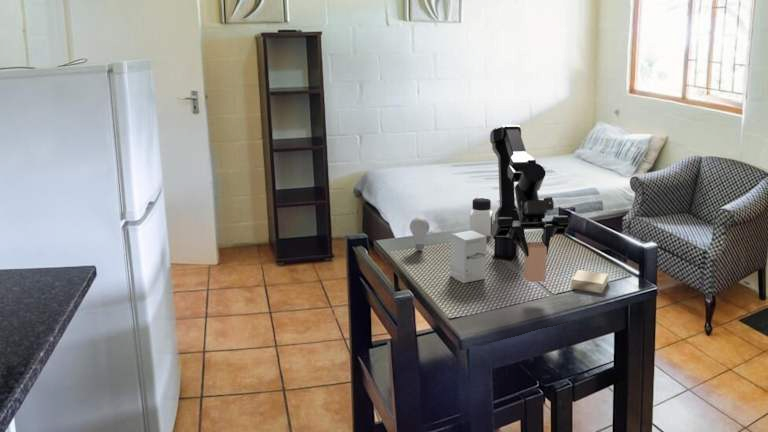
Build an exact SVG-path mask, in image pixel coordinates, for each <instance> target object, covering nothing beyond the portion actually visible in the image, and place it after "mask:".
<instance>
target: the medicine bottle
mask: <svg viewBox="0 0 768 432" xmlns="http://www.w3.org/2000/svg"><path fill="white" fill-rule="evenodd" d="M491 202H492V201H491V200H490V199H489V198H487V197H476V198H473V199H472V206H471V207H472V209H471V211H470V214H469V231H475V232H477V233H480V234H482V235H484V236H486V237H492V236H491V227H492V224H493V210H491V206H492V205H491V204H492V203H491Z"/></svg>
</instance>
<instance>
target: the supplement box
mask: <svg viewBox="0 0 768 432" xmlns="http://www.w3.org/2000/svg"><path fill="white" fill-rule="evenodd" d="M487 237H488V236H484V235H482V234H480V233H477V232H475V231H470V230H468V231H467V230H466V231H461V232H455V233H454V232H453V233H450V259H449V260H450V262H449V276H450V277H452V278H453V279H455V280H457V281H459V282H461V283H462V284H466V283H470V282H475V281H480V280H485V279H486V267H487V266H486V261H487Z"/></svg>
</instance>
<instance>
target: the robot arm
mask: <svg viewBox="0 0 768 432" xmlns="http://www.w3.org/2000/svg"><path fill="white" fill-rule="evenodd" d="M489 141H490V142H489V143H490V144H491V145H492V146H491V147H492V151H493V153H494V154H495V155H496V156H497V157H496V158H497V162H498V163H497V164H498V165H497V166H498V167H497V168H498V187H499V188H498V191H499V192H498V193H499V195H498V197H499V206H498V209H497V210H496V212H495V213H494V219H492V227H491V236H490V237H491V238H492V239H493V240H494V246H493V247H494V248H493V249H494V253H493V254H492V256H491V258H493V259H502V260H507V261H514V260H515V259H516V258H517V257H518V255H519V254H520V253H519V251H520V250H521V251H522V253H523V254H524V256H525V255H526V257H528V255H529V253H528V247H527V243H528V242H527V240H526V235H525V230H542V232H543V233H542V234H541V242H543V244H544V245H545V246H546V247H547V255H548V254H549V247H550V243H551V238H553V237H554V236H558V235H559V236H560V235H562V236H563V235H566V234H567V232H568V231H569V229H570V227H571V225H572V223H571V218H570V217H569V216H568V215H554V216H553V217H552V219H551V220H547V221H546V220H544V221H543V219H545V217H546V214H547V213H548V211H551V212H552V211H553V210H554V206H555V205H554V199H553V197H549V196H548V197H544V198H543V199H540V198H539V194H538V191H540V190H541V186H542V185H543V182H544V179H545V176H546V170H545V168H544V167H543V166H542V165H541V164H539V163H537V162H536V161H537V160H536V159H534V158H535V157H533V156H532V155H530V154H529V153H527V151H526V148H525V144H524V141H523V138H522V128H521V126H520V125H518V124H504V125H502V126H501V127H495V128H493V129H492V130H491V131H490V134H489ZM515 183H517V184H515ZM515 200H516V201H515Z"/></svg>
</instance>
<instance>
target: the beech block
mask: <svg viewBox="0 0 768 432" xmlns="http://www.w3.org/2000/svg"><path fill="white" fill-rule="evenodd" d="M608 280H609V274H608V273H604V272H603V273H602V272H596V271H588V270H582V269H578V270H577V271H576V273H575V274H574V276H573V277H572V278H571V289H572V290H573V289H574V290H579V291H587V292H591V293H592V292H593V293H598V294H599V293H600V294H603V292H604V290H605V288H606V286H607V284H608Z"/></svg>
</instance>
